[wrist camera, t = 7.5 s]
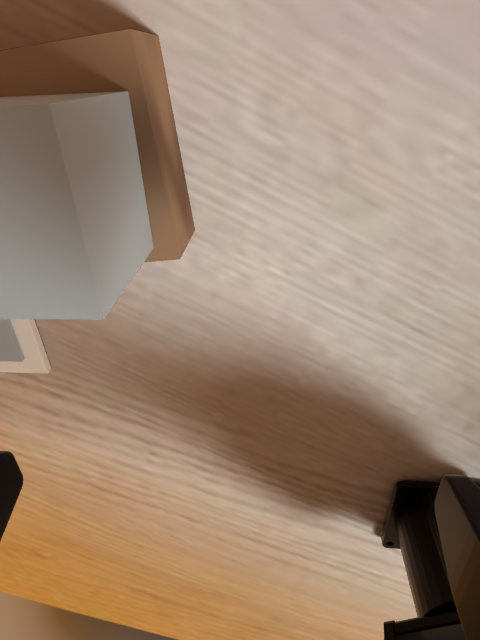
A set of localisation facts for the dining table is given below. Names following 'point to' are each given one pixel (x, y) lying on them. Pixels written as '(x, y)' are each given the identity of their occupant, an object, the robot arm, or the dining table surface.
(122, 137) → the grey cube
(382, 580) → the dining table surface
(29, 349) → the swatch
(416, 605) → the robot arm
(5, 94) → the brown square block
